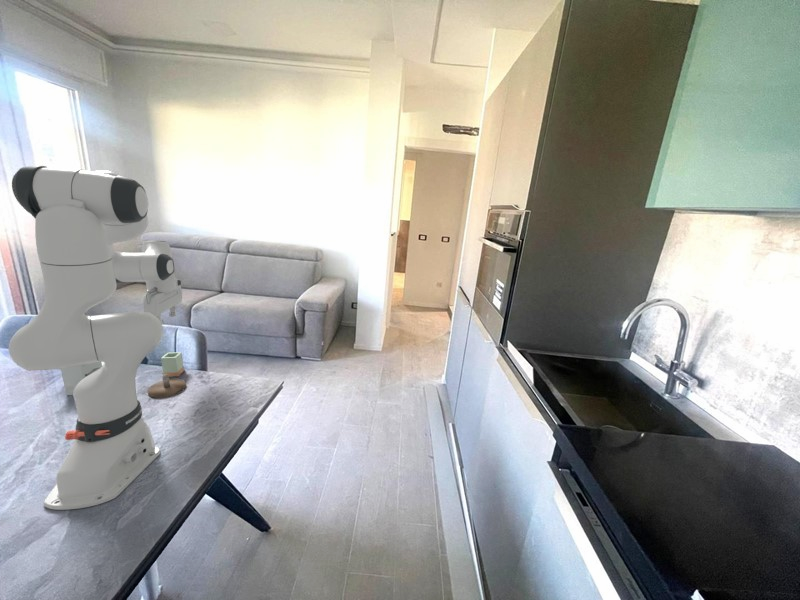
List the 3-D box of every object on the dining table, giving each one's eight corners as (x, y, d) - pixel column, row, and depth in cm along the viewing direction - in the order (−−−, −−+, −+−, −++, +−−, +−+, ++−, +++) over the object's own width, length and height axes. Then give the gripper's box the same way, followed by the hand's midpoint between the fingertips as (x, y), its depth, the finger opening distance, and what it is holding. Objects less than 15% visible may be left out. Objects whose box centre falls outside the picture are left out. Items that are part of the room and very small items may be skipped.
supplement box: (87, 396, 108) (79, 362, 105) (65, 395, 108) (57, 361, 105) (107, 385, 115) (100, 353, 112) (86, 384, 115) (79, 352, 112)
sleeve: (178, 376, 123) (175, 357, 121) (162, 377, 122) (160, 358, 120) (184, 370, 129) (182, 352, 126) (169, 370, 127) (167, 352, 125)
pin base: (177, 397, 111) (175, 381, 109) (141, 398, 108) (138, 382, 107) (190, 381, 121) (189, 366, 119) (158, 382, 119) (155, 367, 117)
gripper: (156, 291, 107) (161, 330, 111) (183, 279, 126) (187, 312, 130) (134, 291, 106) (141, 330, 109) (165, 278, 125) (170, 312, 129)
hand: (166, 320), depth 120 cm, fingers open, 8 cm apart
